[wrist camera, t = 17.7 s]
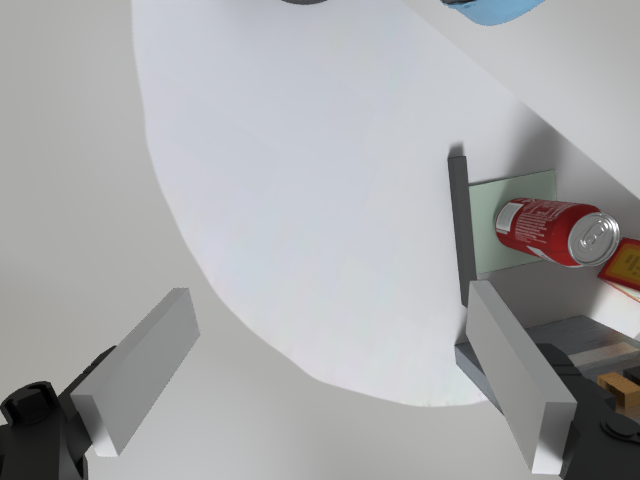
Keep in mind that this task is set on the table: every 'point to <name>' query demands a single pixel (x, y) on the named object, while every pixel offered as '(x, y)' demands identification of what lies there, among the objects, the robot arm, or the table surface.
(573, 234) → the soda can
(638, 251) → the baking soda box
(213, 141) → the table surface
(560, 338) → the breaker panel
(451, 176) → the bar
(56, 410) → the robot arm
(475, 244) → the mat
